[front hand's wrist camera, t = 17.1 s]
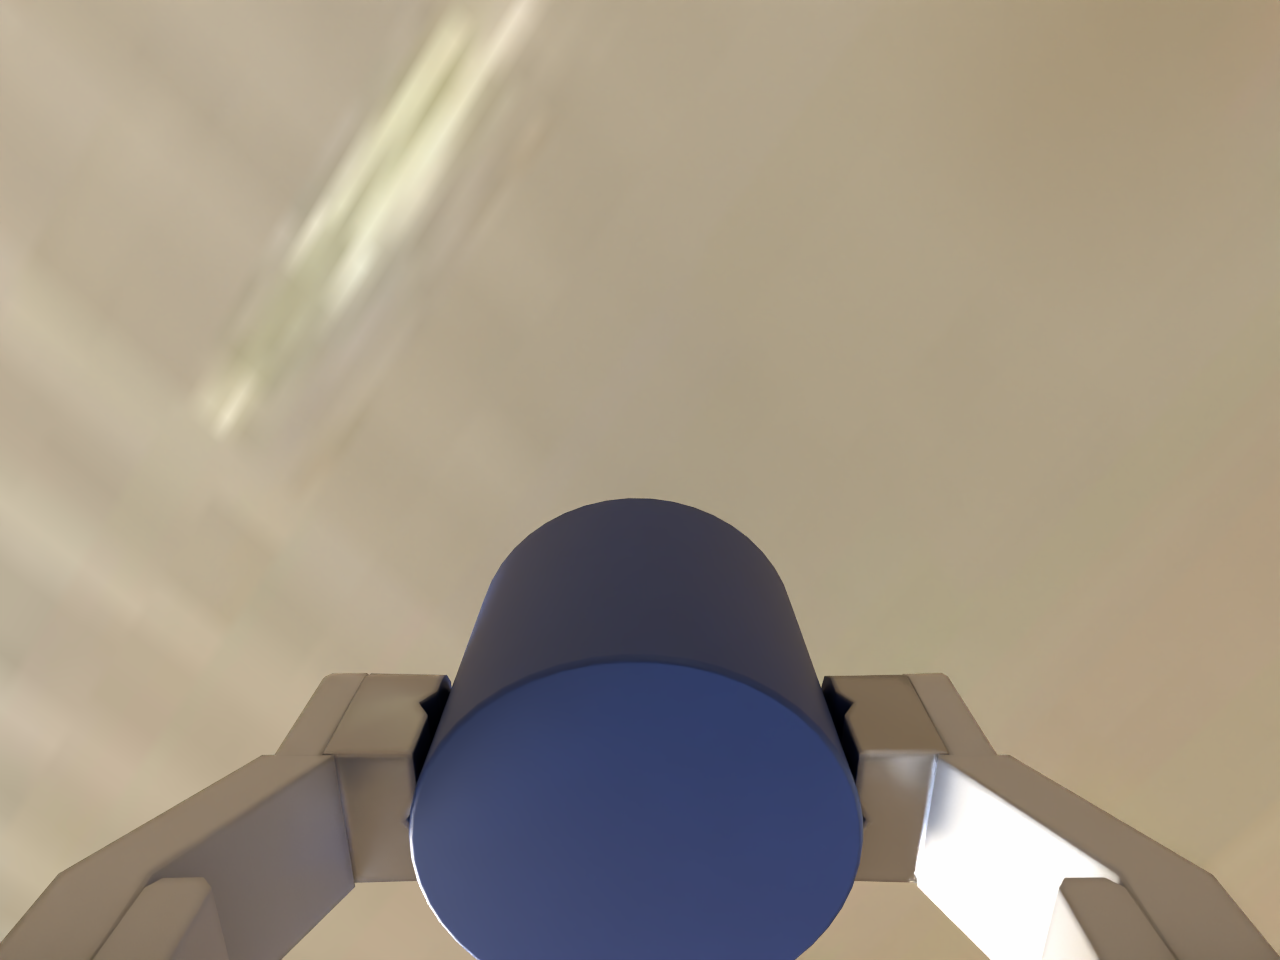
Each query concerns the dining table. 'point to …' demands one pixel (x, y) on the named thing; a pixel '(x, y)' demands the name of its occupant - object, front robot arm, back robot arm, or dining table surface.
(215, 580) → the dining table surface
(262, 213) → the dining table surface
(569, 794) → the can
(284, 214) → the dining table surface
